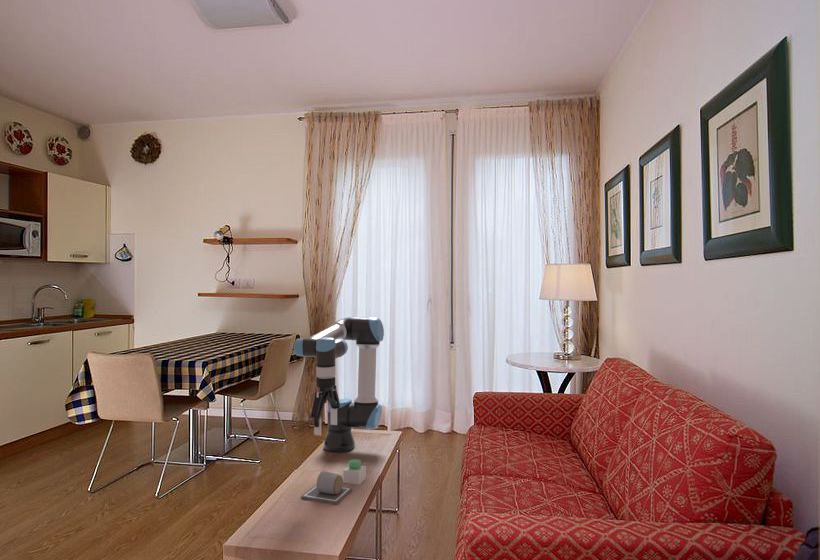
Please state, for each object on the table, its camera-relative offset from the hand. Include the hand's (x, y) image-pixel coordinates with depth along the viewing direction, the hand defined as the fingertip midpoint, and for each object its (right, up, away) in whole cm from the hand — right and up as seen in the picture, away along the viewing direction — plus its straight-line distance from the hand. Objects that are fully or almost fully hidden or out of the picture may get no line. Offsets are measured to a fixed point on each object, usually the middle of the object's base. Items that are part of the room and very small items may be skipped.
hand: (326, 429), depth 194 cm
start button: (+11, -17, +6) cm, 21 cm away
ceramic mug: (+3, -22, -7) cm, 23 cm away
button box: (+11, -23, +6) cm, 26 cm away
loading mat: (+2, -22, -8) cm, 24 cm away
